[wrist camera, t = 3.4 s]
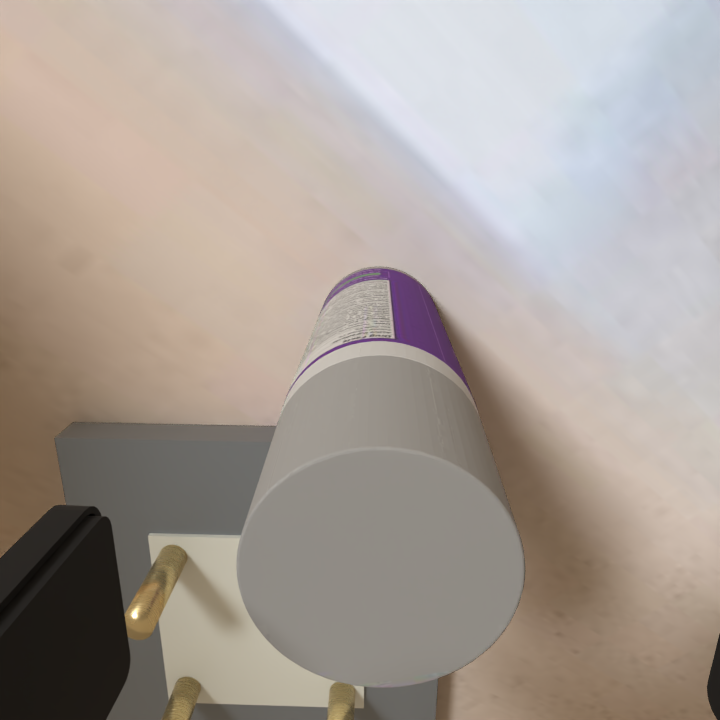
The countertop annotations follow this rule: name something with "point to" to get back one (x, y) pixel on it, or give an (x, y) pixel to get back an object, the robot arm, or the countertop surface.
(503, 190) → the countertop surface
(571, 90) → the countertop surface
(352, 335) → the container
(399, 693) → the plate
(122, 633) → the robot arm
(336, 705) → the standoffs
